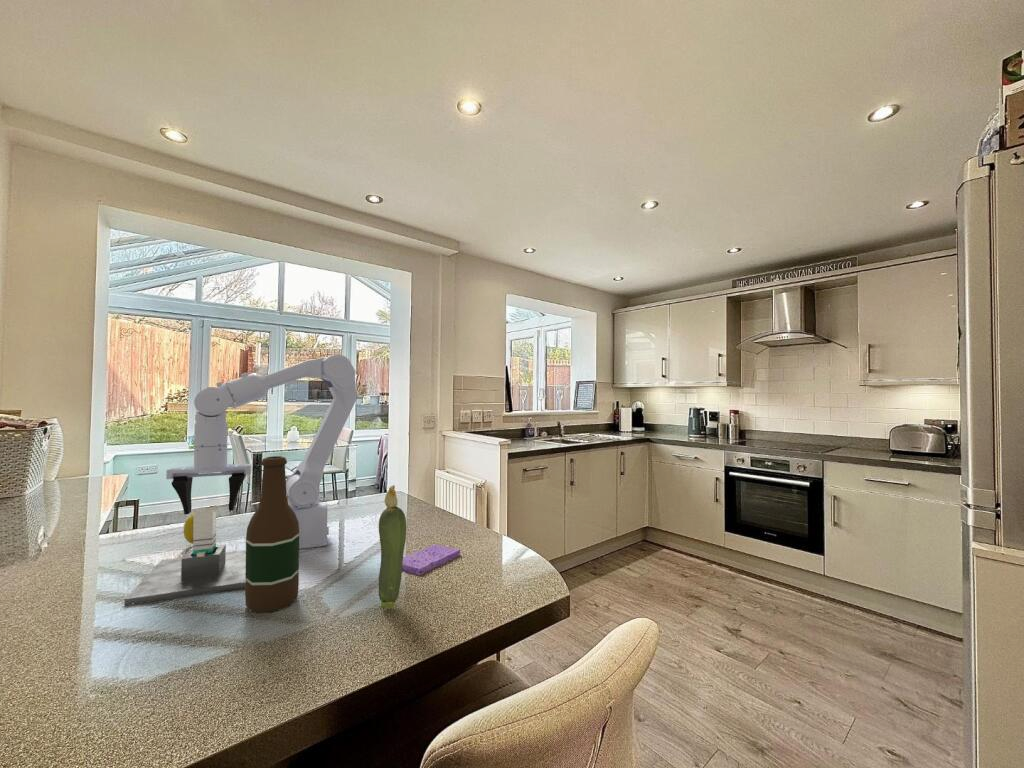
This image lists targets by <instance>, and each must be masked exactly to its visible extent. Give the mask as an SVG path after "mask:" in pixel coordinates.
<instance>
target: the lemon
mask: <svg viewBox="0 0 1024 768" xmlns="http://www.w3.org/2000/svg"><path fill="white" fill-rule="evenodd" d="M193 520H194V513H192V514H191V515H189V516H188V517H187V519H186V520H185V523H184V526H183V536H184V538H185V540H186V542H188V543H189V544H192V545H193Z"/></svg>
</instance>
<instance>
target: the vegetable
mask: <svg viewBox="0 0 1024 768" xmlns="http://www.w3.org/2000/svg"><path fill="white" fill-rule="evenodd" d="M384 504H385V506H386V508H385V509H384V510H383V511H382V512H381V514H380V517H379V521H378V534H379V535H378V536H379V542H380V543H379V545H380V565H379V566H380V567H379V571H378V572H379V574H378V598H379V600H380V602H381V603H380V605H381V609H382V611H385V610H386V609H392V608H395V606H396V601H397V600H398V598H399V595H400V589H401V583H402V575H403V570H402V563H403V557H404V553H405V552H404V551H405V545H406V541H407V519H406V514H405V513H404V511H403V510H402V509H401V507H398V497H397V491H396V488H395V485H391V486H389V488H388V491H387V492H386V494H385V497H384Z"/></svg>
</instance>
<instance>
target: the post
mask: <svg viewBox="0 0 1024 768" xmlns="http://www.w3.org/2000/svg"><path fill="white" fill-rule="evenodd" d="M193 514H194V520H193V544H192V548H193V553H192V556H196V555H197V553H198V552H203V551H206V554H213V553H214V551H215V550H216V545H217V507H209V508H199V509H196V511H194V512H193Z"/></svg>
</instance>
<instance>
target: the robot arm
mask: <svg viewBox="0 0 1024 768" xmlns="http://www.w3.org/2000/svg"><path fill="white" fill-rule="evenodd" d="M304 378H309V379H320V380H321V381H322V382H323V383H324V384H325V385H326V386H327V387H328V389H329V392H330V394H331V396H332V401H331V402H330V404H329V406H328V408H327V410H326V412H325V415H324V416H323V418H322V420H321V423H320V425H319V426H318V429H317V430H316V433H315V434H314V437H313V439H312V440H311V442H310V445H309V447H308V449H307V451H306V453H305V455H304V457H303V459H302V460H301V462H300V463H299V464H298V465H297V466H296V469H295V470H294V471H293V472H292V473H291V475H289V476H288V477H287V478H286V493H287V500H288V505H289V506H290V508H291V509H292V510H293V511H294V513H295V515H296V517H297V520H298V522H299V550H301V549H309V548H310V549H311V548H318V547H326V546H327V545H328V536H329V534H330V526H328V502H319V500H318V498H319V497H320V494H321V493H320V491H321V490H320V489H321V488H320V484H321V481H322V480H323V476H324V469H325V467H326V464H327V462H328V460H329V458H330V456H331V454H332V452H333V450H334V447H335V446H336V443H337V441H338V439H339V437H340V435H341V433H342V430H343V429H344V427H345V425H346V422H347V420H348V418H349V416H350V414H351V413H352V410H353V407H354V405H355V403H356V401H357V398H358V394H357V385H356V383H357V382H356V370H355V368H354V366H353V364H352V363H351V361H350V359H349V358H348V357H346V355H343V354H332V355H330V356H326V357H325V356H323V357H318V358H313V359H307V360H304V361H302V362H298V363H296V364H294V365H290V366H288V367H285V368H282V369H280V370H277V371H274V372H272V373H268V374H266V375H260V374H258V373H256V372H253V373H252V372H251V373H248V372H244V373H241V374H240V377H237V378H234V379H231V380H227V381H225V382H222V381H219V382H216V384H215V385H216V386H210V387H209V386H208V387H206V388H204V389H202V390H200V391H199V392H198V393H197V394H196V396H195V397H194V402H193V404H194V408H195V409H196V413H195V417H194V420H195V423H194V434H193V435H194V439H193V440H194V441H193V448H194V449H193V465H192V466H191V465H190V466H184V467H183V466H182V467H169V468H168V469H166V476H165V477H166V480H172V481H171V486H172V488H173V489H174V491H175V492H176V494H177V495H178V498H179V500H180V502H181V503H180V504H181V506H182V509H183V514H184V515H190V513H191V512H192V486H193V479H194V478H200V477H201V478H202V477H204V478H205V477H218V476H229V477H228V487H229V496H228V497H229V500H228V511H229V512H230V511H234V509H235V506H236V500H237V497H238V494H239V492H240V489H241V486H242V485H243V482H244V480H245V478H246V476H247V475H252V469H253V468H252V467H253V466H252V463H246V464H245V463H243V464H241V463H237V464H236V463H235V464H234V463H231V464H230V463H228V428H229V427H228V422H227V410H228V408H233V409H236V408H239V407H242V406H244V405H247V404H249V403H252V402H255V401H259V400H260V399H261V400H262V399H263V398H265V397H267V395H268V392H269V390H270V389H273V388H276V387H279V386H283V385H285V384H289V383H292V382H295V381H298V380H300V379H304Z"/></svg>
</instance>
